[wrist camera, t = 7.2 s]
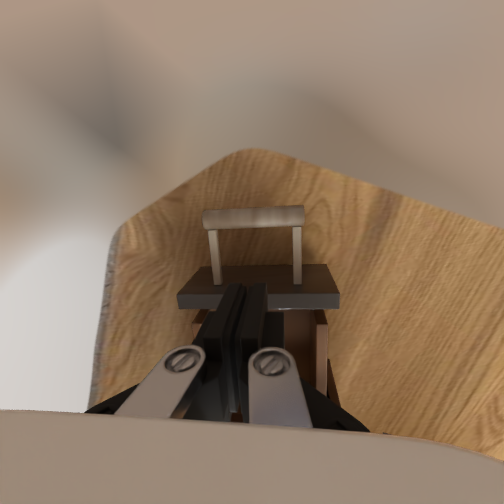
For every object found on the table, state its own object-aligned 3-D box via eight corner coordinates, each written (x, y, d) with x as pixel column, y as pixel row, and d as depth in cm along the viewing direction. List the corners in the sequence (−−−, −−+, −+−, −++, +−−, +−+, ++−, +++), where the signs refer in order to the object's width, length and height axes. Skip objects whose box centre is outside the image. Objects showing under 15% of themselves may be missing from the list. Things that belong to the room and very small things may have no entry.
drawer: (192, 204, 22) (163, 215, 17) (327, 197, 21) (343, 206, 15) (215, 375, 28) (198, 426, 22) (324, 379, 26) (335, 435, 21)
